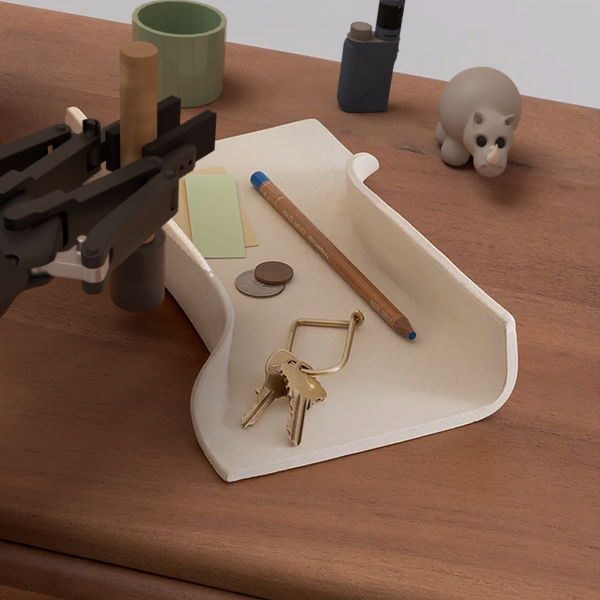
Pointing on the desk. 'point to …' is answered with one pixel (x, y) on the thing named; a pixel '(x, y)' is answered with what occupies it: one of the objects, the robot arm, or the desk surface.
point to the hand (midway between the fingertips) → (192, 122)
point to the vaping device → (370, 60)
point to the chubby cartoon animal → (478, 119)
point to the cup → (184, 48)
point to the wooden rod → (133, 136)
